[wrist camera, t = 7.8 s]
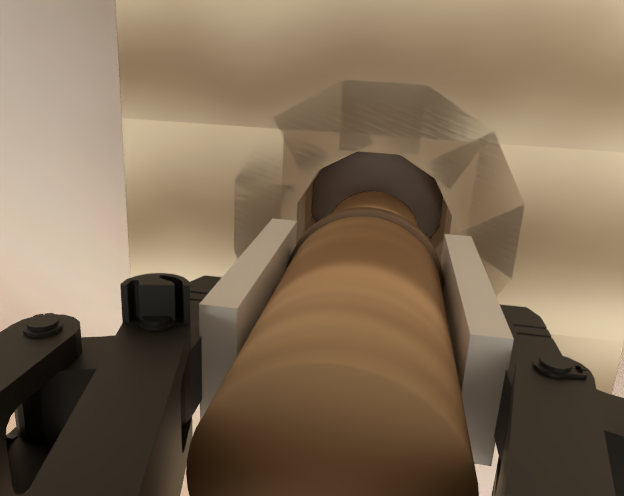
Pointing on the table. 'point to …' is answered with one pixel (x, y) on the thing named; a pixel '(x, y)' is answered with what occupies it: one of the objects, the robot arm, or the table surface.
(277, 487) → the peg
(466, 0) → the board
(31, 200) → the table surface
